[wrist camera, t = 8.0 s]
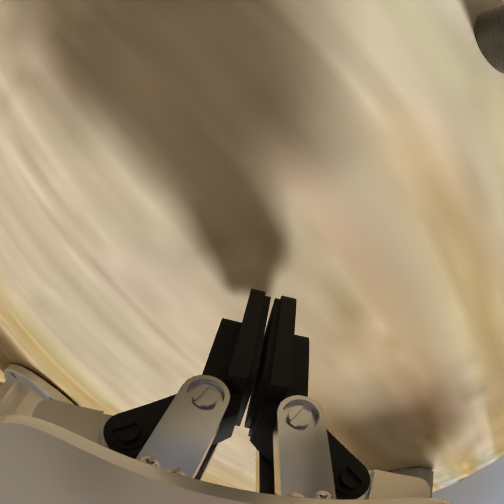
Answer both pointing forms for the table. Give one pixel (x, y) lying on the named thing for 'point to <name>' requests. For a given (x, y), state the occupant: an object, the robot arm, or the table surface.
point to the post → (491, 36)
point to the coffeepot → (418, 474)
